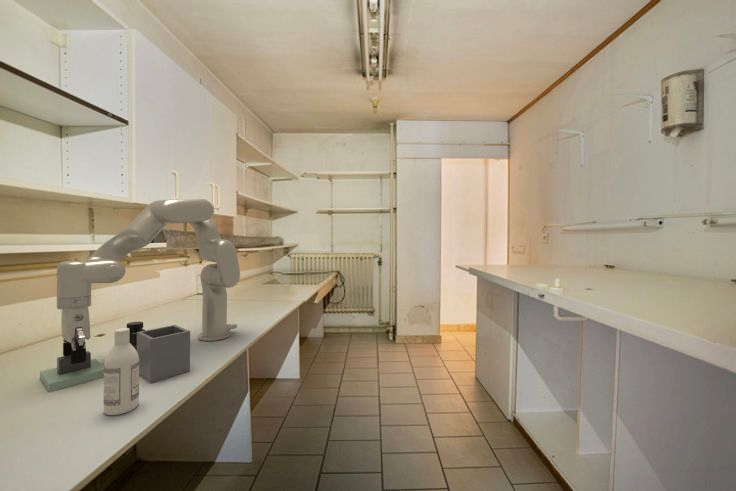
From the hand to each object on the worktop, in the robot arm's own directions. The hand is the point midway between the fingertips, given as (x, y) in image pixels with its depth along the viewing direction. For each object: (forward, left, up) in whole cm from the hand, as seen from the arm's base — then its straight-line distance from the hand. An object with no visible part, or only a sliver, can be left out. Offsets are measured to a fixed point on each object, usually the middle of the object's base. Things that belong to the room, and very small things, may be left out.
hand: (74, 358), depth 93 cm
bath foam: (-3, +31, -6) cm, 32 cm away
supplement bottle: (-17, -6, -6) cm, 19 cm away
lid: (0, 0, -6) cm, 6 cm away
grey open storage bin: (-18, +16, -6) cm, 25 cm away
